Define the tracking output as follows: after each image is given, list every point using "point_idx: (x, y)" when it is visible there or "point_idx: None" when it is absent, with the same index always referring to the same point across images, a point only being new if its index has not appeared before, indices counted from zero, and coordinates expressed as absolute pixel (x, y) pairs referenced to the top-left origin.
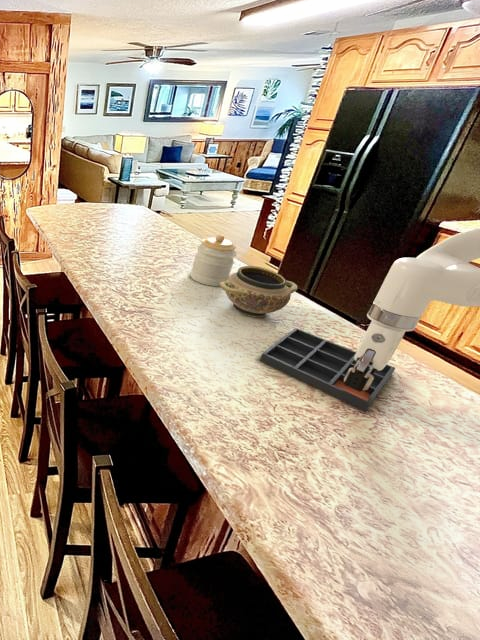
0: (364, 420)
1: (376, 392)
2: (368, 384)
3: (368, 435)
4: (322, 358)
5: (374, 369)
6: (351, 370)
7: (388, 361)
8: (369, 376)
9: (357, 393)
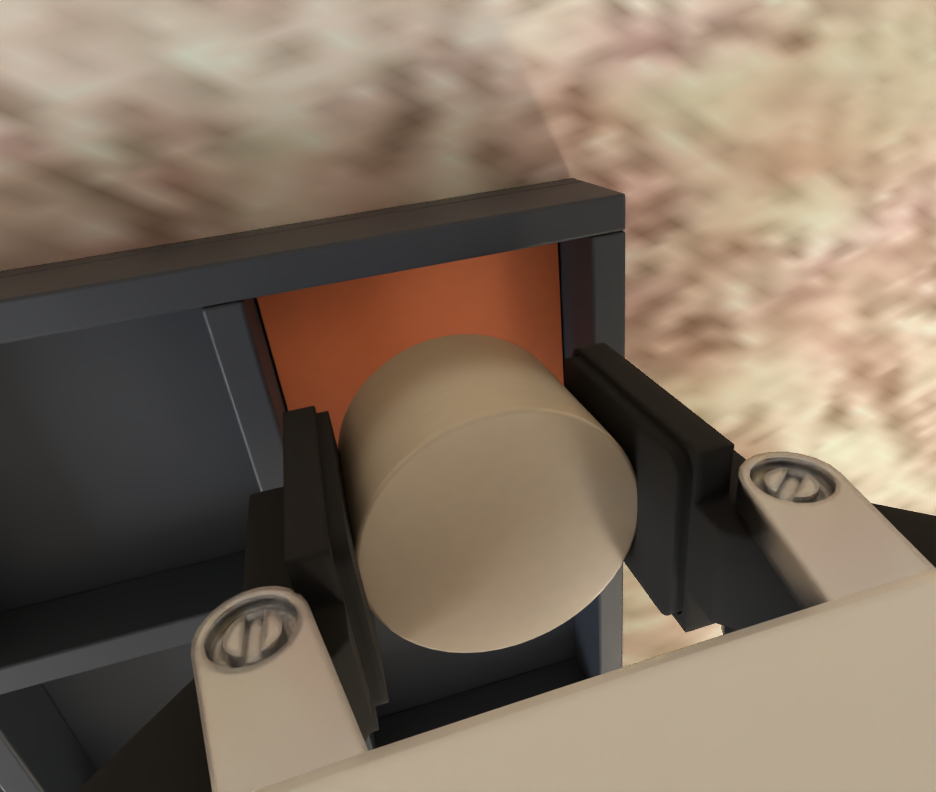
0: (705, 125)
1: (296, 263)
2: (534, 376)
3: (894, 12)
4: (93, 764)
5: (338, 559)
6: (704, 622)
7: (703, 757)
8: (474, 470)
9: (383, 353)
